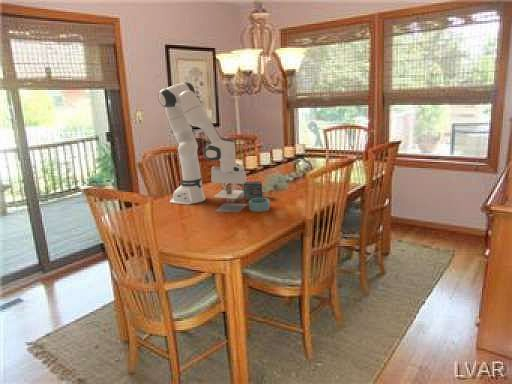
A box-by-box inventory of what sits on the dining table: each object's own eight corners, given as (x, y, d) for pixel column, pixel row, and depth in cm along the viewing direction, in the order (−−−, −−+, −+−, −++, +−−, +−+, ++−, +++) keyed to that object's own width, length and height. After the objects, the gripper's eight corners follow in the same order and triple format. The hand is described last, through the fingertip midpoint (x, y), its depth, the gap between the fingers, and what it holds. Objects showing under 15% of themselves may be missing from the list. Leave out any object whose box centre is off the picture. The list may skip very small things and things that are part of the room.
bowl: (247, 211, 221) (246, 203, 219) (253, 205, 231) (252, 197, 230) (266, 212, 218) (266, 203, 216) (271, 206, 228) (270, 197, 226)
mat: (214, 212, 224) (214, 211, 224) (224, 204, 238) (223, 203, 238) (239, 212, 220) (239, 212, 220) (247, 204, 234) (247, 203, 234)
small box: (262, 197, 247) (261, 180, 244) (262, 200, 241) (260, 183, 238) (246, 197, 248) (244, 181, 245) (244, 200, 242) (243, 184, 239)
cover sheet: (214, 197, 223) (214, 189, 222) (222, 190, 235) (222, 183, 234) (236, 198, 220) (236, 190, 219) (243, 191, 232) (243, 184, 231)
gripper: (208, 167, 223) (210, 191, 227) (243, 168, 218) (244, 192, 221) (212, 165, 229) (214, 188, 233) (246, 166, 224) (247, 189, 227)
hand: (229, 190), depth 227 cm, fingers closed on cover sheet, 3 cm apart
